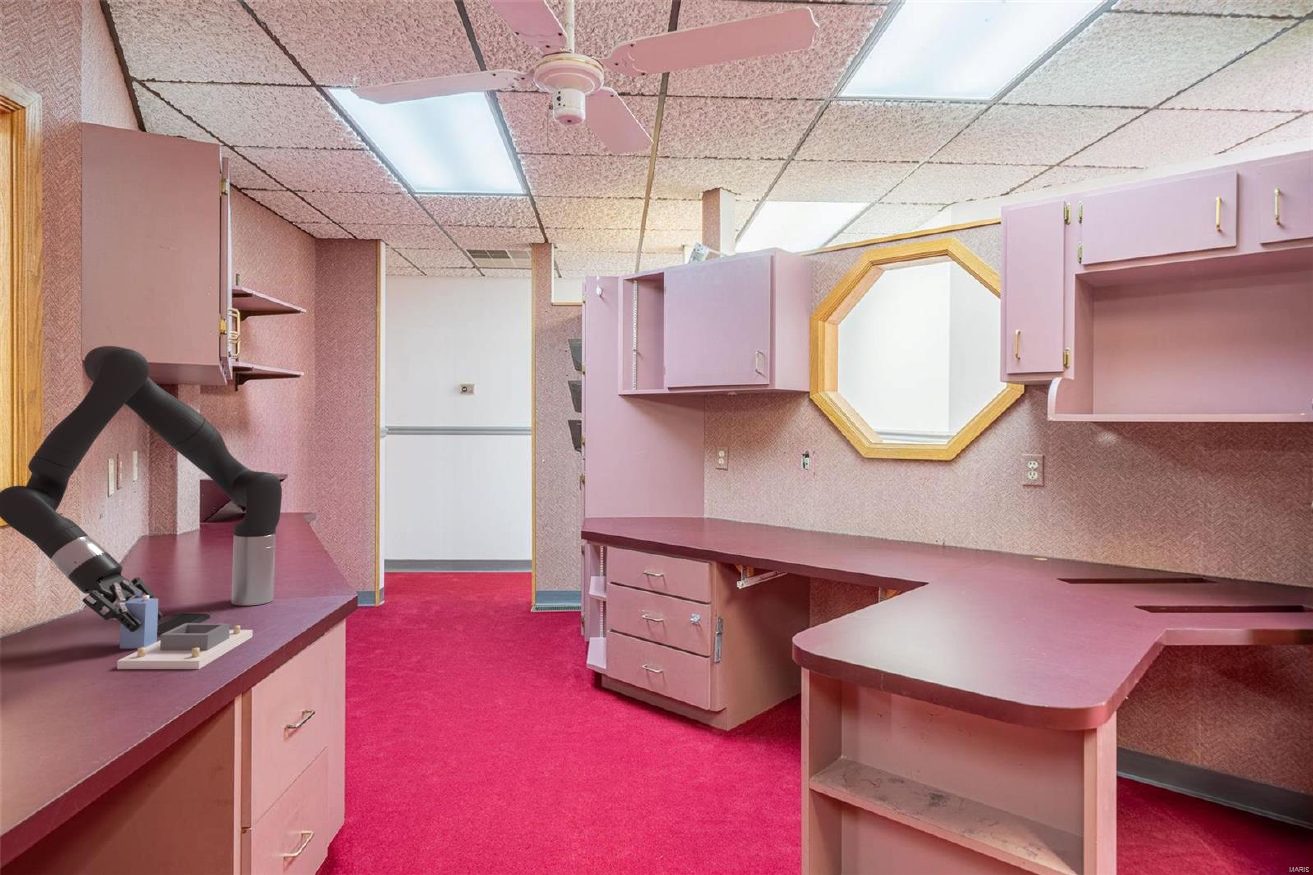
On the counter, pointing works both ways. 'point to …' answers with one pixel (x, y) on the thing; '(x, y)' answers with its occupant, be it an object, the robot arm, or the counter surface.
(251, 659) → the counter surface
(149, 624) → the block
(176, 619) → the phone
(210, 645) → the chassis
